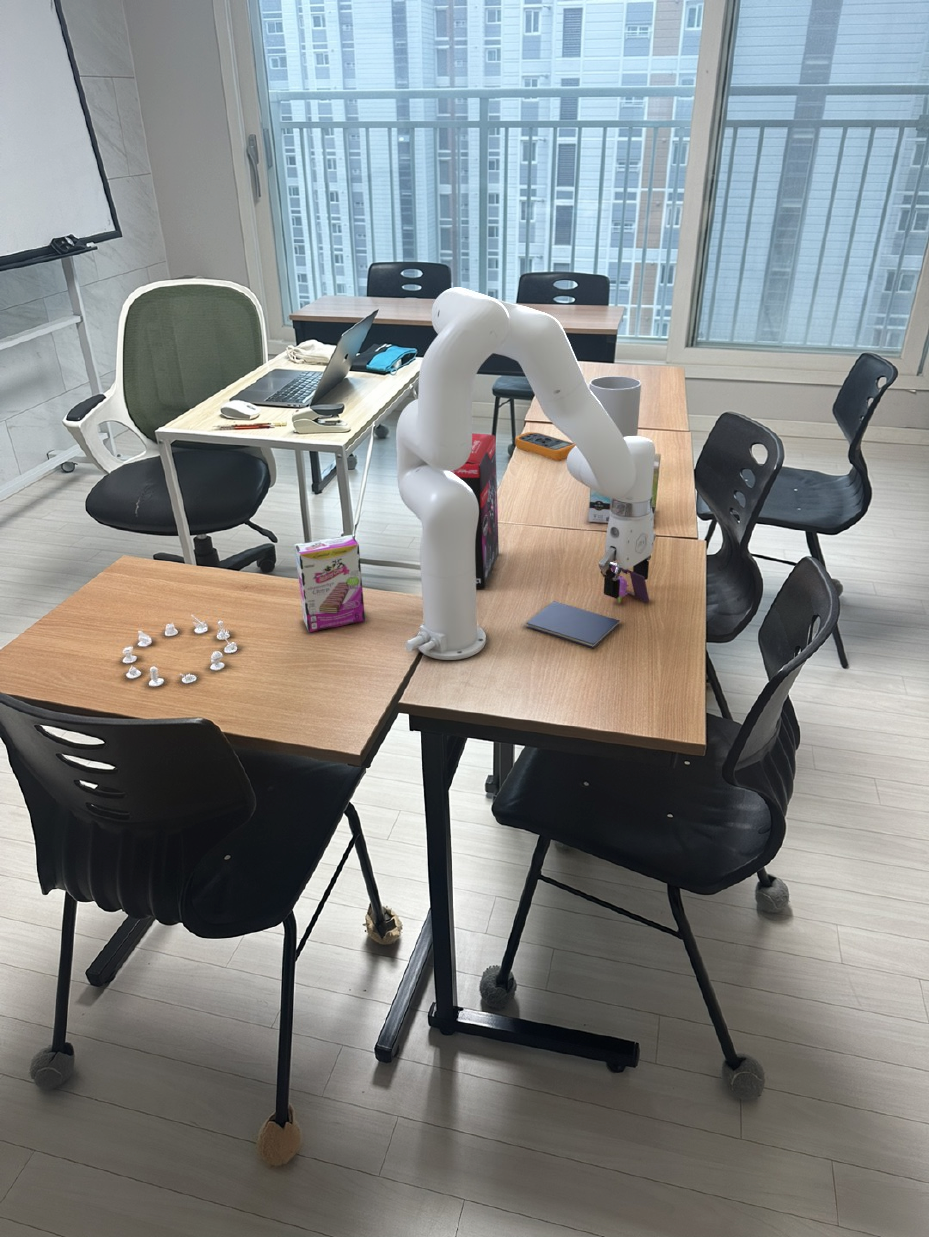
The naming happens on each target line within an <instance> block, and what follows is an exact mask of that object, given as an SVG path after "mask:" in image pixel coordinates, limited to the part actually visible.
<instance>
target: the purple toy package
mask: <svg viewBox="0 0 929 1237" xmlns="http://www.w3.org/2000/svg"><path fill="white" fill-rule="evenodd" d="M616 568H617V567H614V566H612V568H611V571H612V572H613V573H614V572H615V570H616ZM621 572H622V573H623V574H625V575H627V574H629V576H630V581H631V585H632V589H633V593H632V592H630V591H628V590H627V588H628V587H630V584H628V581H627V579H626V578H625V577H623V576H622V575H619V577H618V579H620V591H619V598H617V599H618V600H617V601H618V602H617V603H618V604H621V601H622V598H624V597H625V596H631V597H633V598H635V599H638V600H639V601H642V602H644V603H647V604H649V602H650V598H649V593H648V588H647V583H646V580H645V578H644V576H642V575H640V574H637V573H635V572H633V570H630V569H627V570H625V569H623V568H622V570H621Z"/></svg>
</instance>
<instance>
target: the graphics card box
mask: <svg viewBox="0 0 929 1237" xmlns="http://www.w3.org/2000/svg"><path fill="white" fill-rule="evenodd" d="M496 447H497V446H496V435H494V434H489V433H488V434H487V433H477V432H476V433H475V432H474V433H473V432H472V448H471V453H470V456H469V458H468V460H467V461H466V463H465V464H464V465H463V466H462V467H460V468H458V469H456V470H453V471H450V472H452V473H453V474H455V475H456V476H457V477H459V478H460V479H461V480H463V481H464V482H465V483H466V484H467V485H468V486H469V487H470V488H471V490H472V491H473V493H474V494H475V496H476V498H477V501H478V506H479V517H478V524H477V529H476V538H475V566H476V590H478V589H479V590H485V589H486V586H487V584H488V581H489V578H490V576H491V574H492V571H493V569H494V566H495V564H496V561H497V559H498V556H499V554H500V550H499V549H500V546H499V512H498V509H499V508H498V481H497V448H496Z"/></svg>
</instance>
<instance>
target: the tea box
mask: <svg viewBox="0 0 929 1237" xmlns="http://www.w3.org/2000/svg"><path fill="white" fill-rule="evenodd" d="M661 458H662V454H661V453H655V460H654V474H653V488H652V503H651V508H652V512H653V520H655V514H656V506H657V500H658V499H657V498H658V488H659V478H660V477H659V476H660V467H661ZM610 515H611V514H610V498H607V497H604V496H603V495H601V494H599V493H598V492H596V491H595V490H593V489H591V488H590V487H589V502H588V523H603V524H604V523H605V524H608V523H609V518H610Z"/></svg>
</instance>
